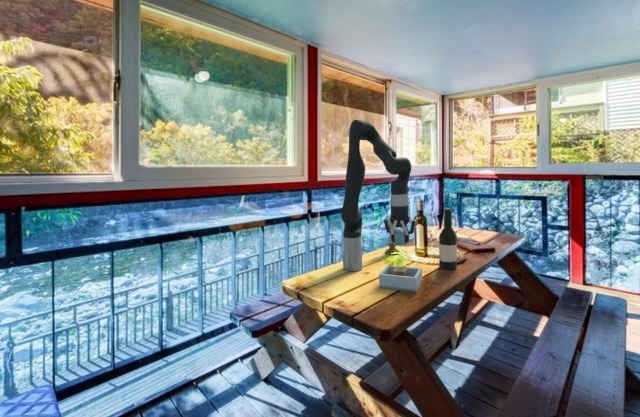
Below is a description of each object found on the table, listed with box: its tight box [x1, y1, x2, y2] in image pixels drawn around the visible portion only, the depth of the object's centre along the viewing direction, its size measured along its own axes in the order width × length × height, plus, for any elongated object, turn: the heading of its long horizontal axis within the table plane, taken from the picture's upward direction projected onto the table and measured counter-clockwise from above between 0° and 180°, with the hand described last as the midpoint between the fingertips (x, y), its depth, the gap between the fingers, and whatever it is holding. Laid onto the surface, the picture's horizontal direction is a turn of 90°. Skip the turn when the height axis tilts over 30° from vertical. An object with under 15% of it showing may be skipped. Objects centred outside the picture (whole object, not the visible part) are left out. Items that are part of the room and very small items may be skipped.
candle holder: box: [384, 221, 401, 256], centre depth 201 cm, size 9×9×20 cm
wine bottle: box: [438, 208, 458, 271], centre depth 168 cm, size 8×8×30 cm
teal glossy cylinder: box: [394, 229, 407, 246], centre depth 148 cm, size 5×5×6 cm
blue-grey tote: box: [378, 264, 423, 293], centre depth 150 cm, size 16×14×6 cm
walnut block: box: [392, 265, 409, 276], centre depth 150 cm, size 6×7×6 cm
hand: (400, 242), depth 148 cm, fingers closed on teal glossy cylinder, 5 cm apart
